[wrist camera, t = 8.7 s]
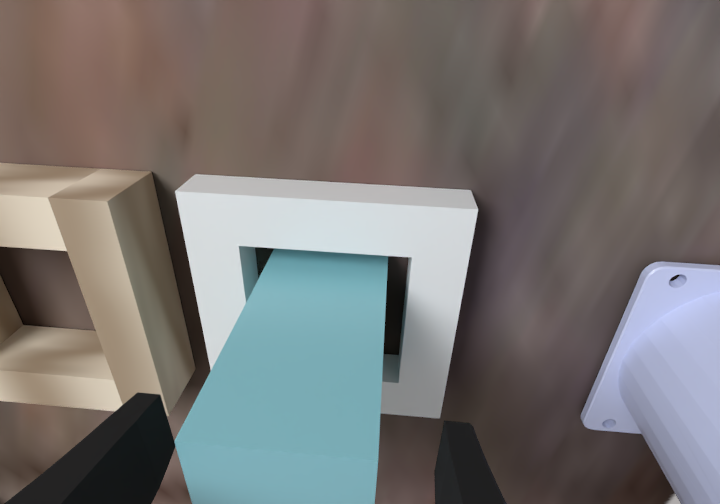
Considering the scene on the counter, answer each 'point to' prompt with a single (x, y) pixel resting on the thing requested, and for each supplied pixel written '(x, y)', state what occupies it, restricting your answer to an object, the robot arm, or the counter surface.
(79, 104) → the counter surface
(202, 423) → the teal plug
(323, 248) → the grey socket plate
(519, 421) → the counter surface
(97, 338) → the ash socket block
